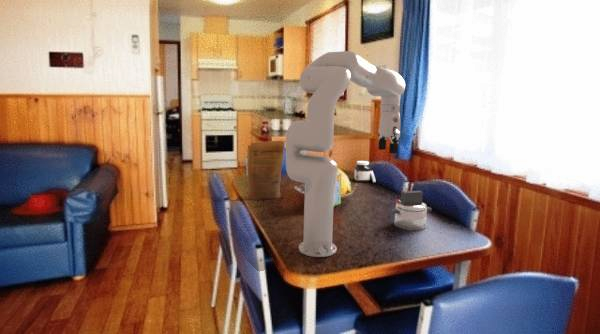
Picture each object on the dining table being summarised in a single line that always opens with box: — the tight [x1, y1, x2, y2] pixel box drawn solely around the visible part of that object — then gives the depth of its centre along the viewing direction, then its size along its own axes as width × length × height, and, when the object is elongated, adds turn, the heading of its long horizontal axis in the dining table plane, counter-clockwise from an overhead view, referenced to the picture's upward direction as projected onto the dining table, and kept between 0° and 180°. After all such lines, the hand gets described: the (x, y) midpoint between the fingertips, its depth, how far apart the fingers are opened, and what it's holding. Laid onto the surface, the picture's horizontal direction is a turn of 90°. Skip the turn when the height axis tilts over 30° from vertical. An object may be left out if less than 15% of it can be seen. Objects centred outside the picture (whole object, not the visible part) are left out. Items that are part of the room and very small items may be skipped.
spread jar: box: [353, 160, 377, 183], centre depth 237 cm, size 12×11×12 cm
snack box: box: [304, 171, 342, 207], centre depth 182 cm, size 21×6×15 cm, turn 141°
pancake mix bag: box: [246, 140, 286, 201], centre depth 194 cm, size 7×19×28 cm, turn 112°
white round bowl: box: [395, 190, 428, 211], centre depth 160 cm, size 12×12×6 cm
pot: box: [389, 206, 433, 231], centre depth 162 cm, size 12×17×8 cm
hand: (387, 151), depth 166 cm, fingers open, 9 cm apart
